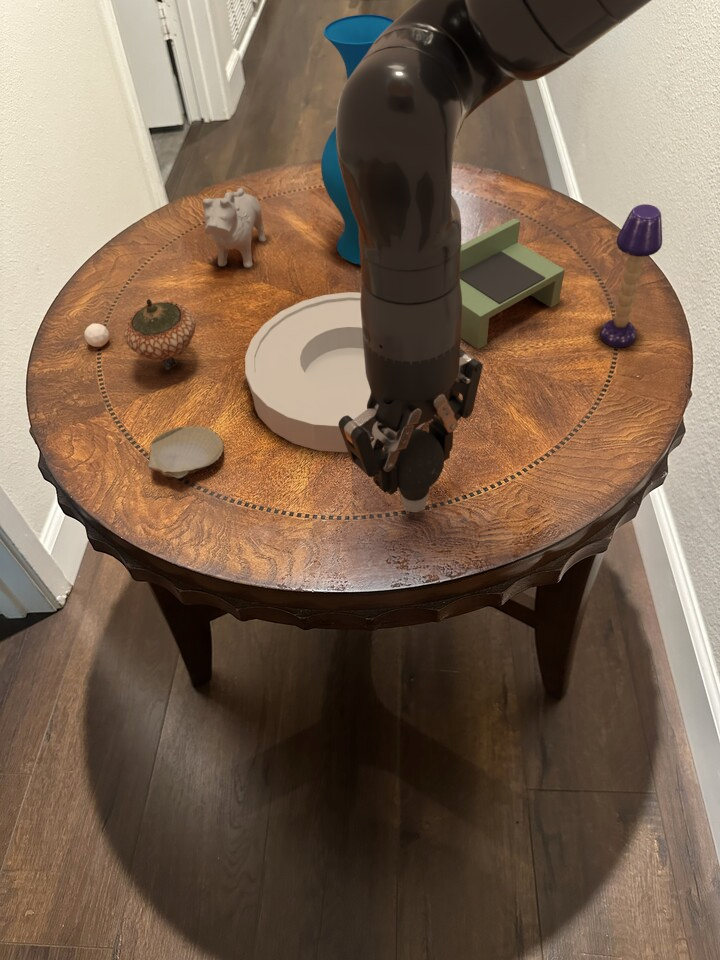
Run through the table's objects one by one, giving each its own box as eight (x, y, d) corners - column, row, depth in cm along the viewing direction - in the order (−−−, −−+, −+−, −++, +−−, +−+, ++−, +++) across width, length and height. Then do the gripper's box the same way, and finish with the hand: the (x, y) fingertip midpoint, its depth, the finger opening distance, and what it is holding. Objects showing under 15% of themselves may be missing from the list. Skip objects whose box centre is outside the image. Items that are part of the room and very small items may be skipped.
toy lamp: (627, 354, 88) (663, 226, 75) (589, 342, 89) (617, 215, 77) (640, 331, 90) (677, 203, 77) (603, 320, 92) (633, 193, 79)
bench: (508, 272, 99) (514, 217, 93) (559, 303, 95) (569, 247, 89) (428, 315, 95) (429, 260, 88) (477, 350, 90) (482, 294, 84)
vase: (418, 224, 108) (419, 7, 87) (410, 275, 100) (408, 50, 79) (337, 222, 110) (318, 9, 89) (322, 272, 102) (297, 50, 81)
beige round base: (384, 481, 77) (382, 455, 74) (210, 408, 86) (202, 382, 83) (480, 352, 89) (483, 325, 86) (320, 299, 98) (317, 273, 95)
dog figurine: (207, 282, 102) (189, 210, 94) (235, 230, 110) (220, 160, 102) (244, 284, 101) (229, 212, 93) (269, 232, 109) (257, 162, 101)
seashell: (235, 459, 83) (178, 424, 84) (238, 440, 80) (179, 404, 82) (188, 502, 77) (127, 464, 79) (190, 483, 75) (128, 444, 76)
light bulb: (377, 520, 73) (371, 452, 65) (398, 479, 76) (395, 409, 68) (431, 537, 71) (432, 468, 63) (451, 494, 74) (453, 424, 67)
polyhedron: (113, 336, 95) (106, 317, 93) (110, 351, 94) (102, 332, 91) (91, 338, 95) (83, 319, 93) (87, 353, 94) (79, 334, 91)
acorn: (194, 337, 94) (175, 269, 87) (214, 375, 89) (196, 307, 82) (131, 358, 92) (105, 290, 85) (147, 398, 87) (122, 330, 80)
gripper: (366, 394, 52) (378, 536, 65) (515, 309, 57) (498, 456, 70) (305, 342, 56) (328, 486, 69) (449, 267, 61) (445, 414, 74)
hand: (413, 470), depth 69 cm, fingers closed on light bulb, 5 cm apart
